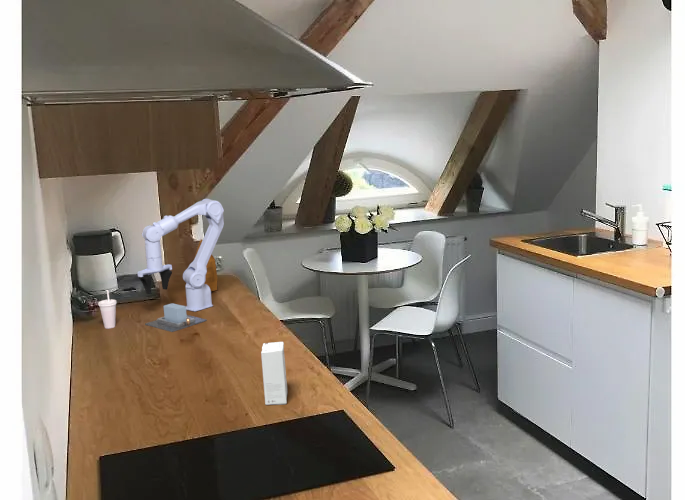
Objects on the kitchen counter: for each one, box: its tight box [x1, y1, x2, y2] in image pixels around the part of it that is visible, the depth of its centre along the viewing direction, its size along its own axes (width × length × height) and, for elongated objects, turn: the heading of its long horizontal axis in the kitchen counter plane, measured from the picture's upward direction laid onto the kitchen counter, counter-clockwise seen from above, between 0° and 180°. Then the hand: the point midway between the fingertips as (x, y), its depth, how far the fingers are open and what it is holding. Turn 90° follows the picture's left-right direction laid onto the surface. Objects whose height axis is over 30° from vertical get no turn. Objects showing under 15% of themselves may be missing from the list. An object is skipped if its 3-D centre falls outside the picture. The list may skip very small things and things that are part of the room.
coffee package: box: [194, 239, 218, 292], centre depth 303 cm, size 10×12×22 cm
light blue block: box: [163, 303, 188, 323], centre depth 258 cm, size 8×4×6 cm, turn 51°
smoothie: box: [97, 289, 117, 329], centre depth 255 cm, size 6×6×14 cm
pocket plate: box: [145, 314, 208, 333], centre depth 258 cm, size 16×16×3 cm
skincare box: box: [260, 341, 288, 406], centre depth 185 cm, size 8×6×15 cm
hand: (156, 291), depth 268 cm, fingers open, 7 cm apart
